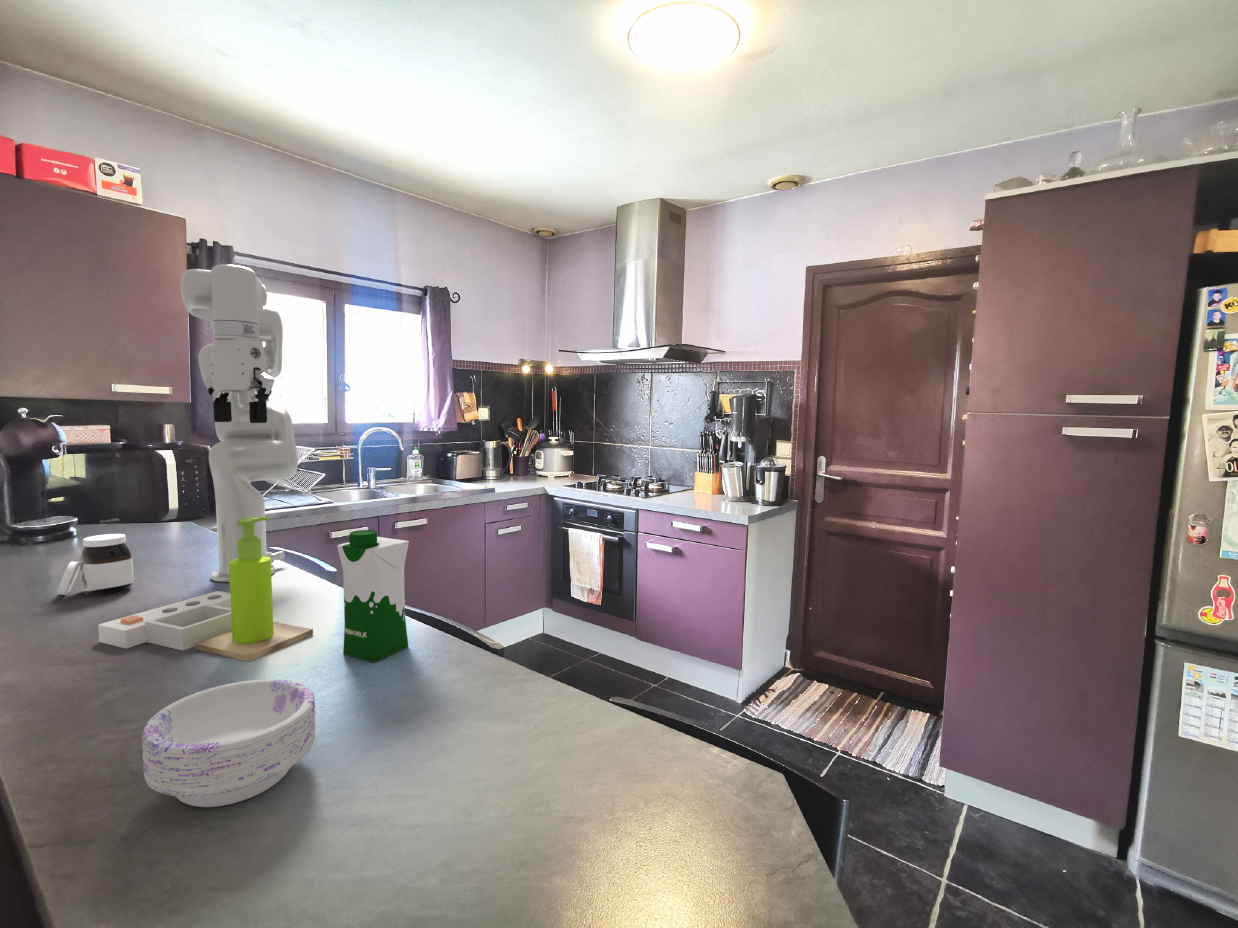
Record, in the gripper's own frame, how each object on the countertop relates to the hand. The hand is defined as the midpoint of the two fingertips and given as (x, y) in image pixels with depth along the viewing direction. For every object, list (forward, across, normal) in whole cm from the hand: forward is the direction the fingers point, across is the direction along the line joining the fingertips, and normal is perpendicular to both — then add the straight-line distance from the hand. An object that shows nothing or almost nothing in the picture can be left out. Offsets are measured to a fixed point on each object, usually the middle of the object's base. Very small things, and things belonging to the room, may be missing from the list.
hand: (240, 422), depth 115 cm
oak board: (+36, -19, +13) cm, 43 cm away
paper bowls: (+37, -51, +40) cm, 74 cm away
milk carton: (+36, -40, +8) cm, 55 cm away
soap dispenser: (+36, -19, +13) cm, 42 cm away
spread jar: (+37, +36, +7) cm, 52 cm away
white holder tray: (+36, -3, +13) cm, 39 cm away
